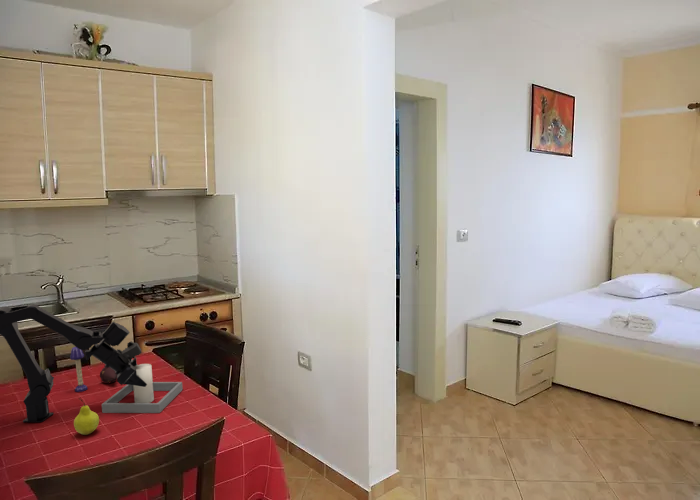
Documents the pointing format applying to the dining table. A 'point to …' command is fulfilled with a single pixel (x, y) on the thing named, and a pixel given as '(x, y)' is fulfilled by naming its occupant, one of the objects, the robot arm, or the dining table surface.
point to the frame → (115, 407)
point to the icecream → (108, 375)
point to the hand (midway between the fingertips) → (145, 381)
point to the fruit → (86, 420)
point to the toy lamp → (78, 368)
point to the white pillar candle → (146, 392)
